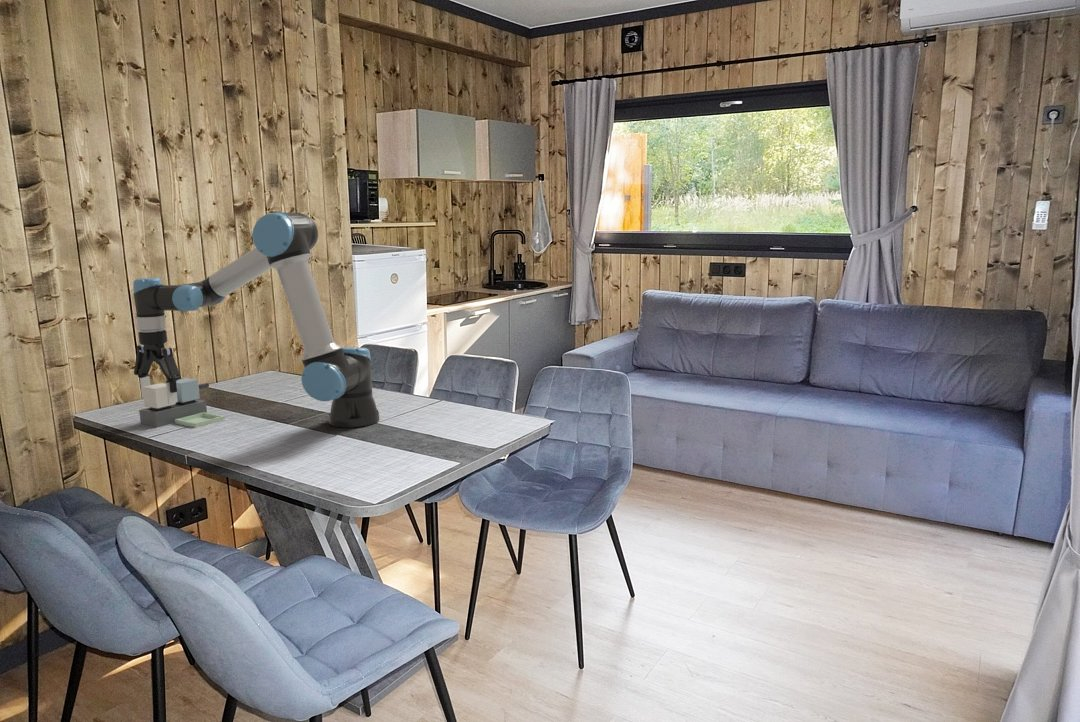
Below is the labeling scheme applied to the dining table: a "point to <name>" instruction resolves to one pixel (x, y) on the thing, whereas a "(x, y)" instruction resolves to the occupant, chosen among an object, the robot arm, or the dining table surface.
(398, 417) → the dining table surface
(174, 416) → the strip
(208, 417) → the tray
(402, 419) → the dining table surface
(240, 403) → the dining table surface
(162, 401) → the plug
